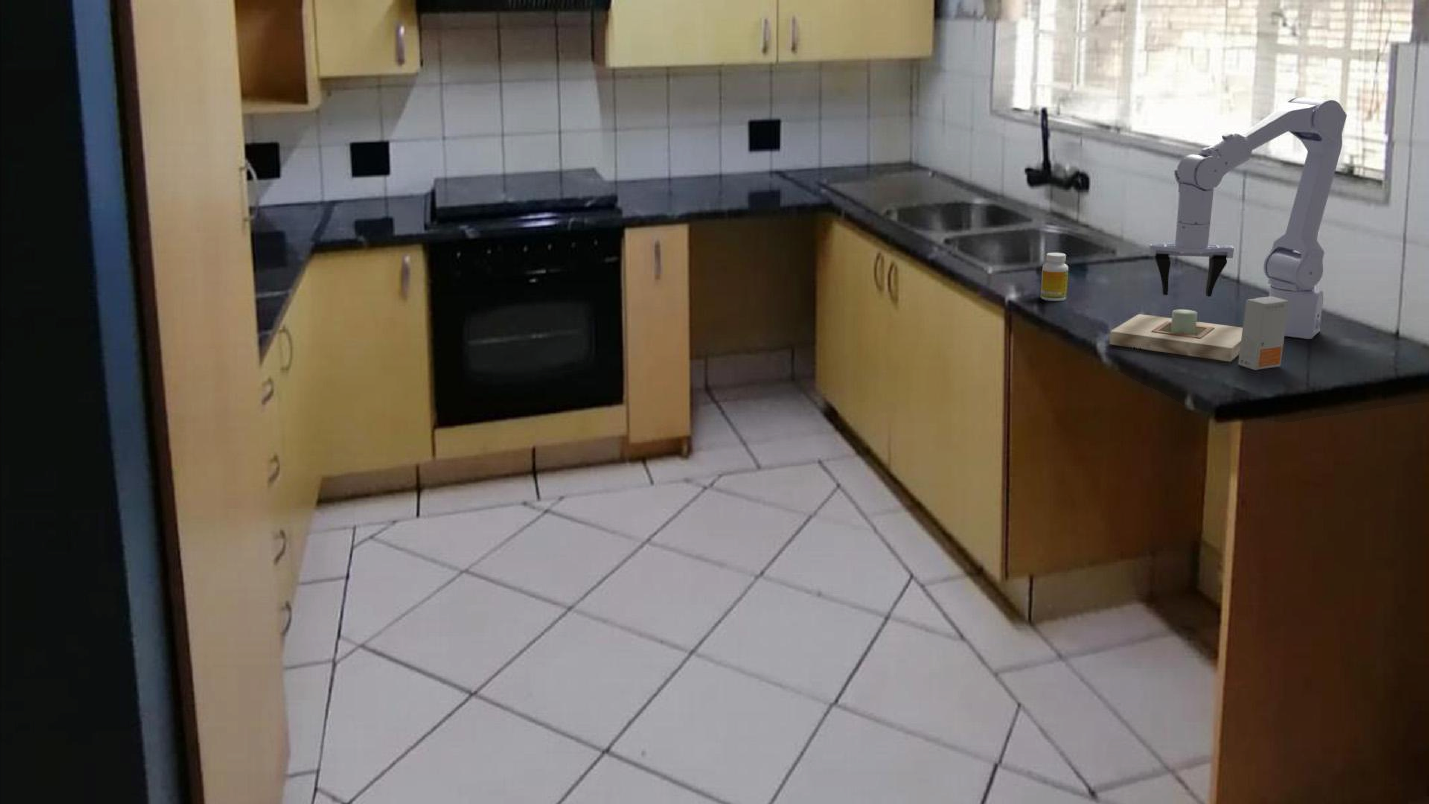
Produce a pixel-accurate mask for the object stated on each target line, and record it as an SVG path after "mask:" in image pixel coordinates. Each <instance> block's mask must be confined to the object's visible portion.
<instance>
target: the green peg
mask: <svg viewBox="0 0 1429 804" xmlns="http://www.w3.org/2000/svg"><path fill="white" fill-rule="evenodd" d="M1171 313H1172V314H1171V318H1172V321H1171V331H1170V332H1172V333H1180V334H1187V335H1194V336H1195V331H1196V322H1198V321H1197V319H1198V312H1197V311H1195V310H1191V309H1174V310H1172V312H1171Z"/></svg>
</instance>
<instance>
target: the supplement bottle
mask: <svg viewBox="0 0 1429 804" xmlns="http://www.w3.org/2000/svg"><path fill="white" fill-rule="evenodd" d="M1066 258H1067V255H1066V254H1065V253H1063V252H1048V253H1046V258H1045V259H1046V262H1045V263H1044V264H1042V269H1041V285H1040V298H1041V299H1042V300H1044V301H1048V302H1060V301H1062V302H1063V301H1066V298H1067V294H1068V293H1067V292H1068V279H1069V277H1068V276H1069V266H1068V265H1067V264H1066V263H1065V262H1066Z"/></svg>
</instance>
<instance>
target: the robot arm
mask: <svg viewBox="0 0 1429 804" xmlns="http://www.w3.org/2000/svg"><path fill="white" fill-rule="evenodd" d="M1277 107H1278V108H1277V109H1276V110H1275V111H1273V112H1272V113H1271V114H1269V115H1268V116H1267V117H1266V116H1265V118H1263V119H1262V120H1260V121H1259V122H1258V123H1256V124H1255V125H1253V126H1252V127H1250V128H1248V130H1247V131H1245V132H1243V133H1241V134H1240V133H1238V132H1232V133H1229V132H1226V133H1224V134H1223V135H1222V136H1221V138H1222V139H1220V140H1218V141H1217V142H1215V143H1213V144H1212V145H1211V146H1209V147H1204V148H1201V149H1200V152H1199V153H1198V154H1188V155H1186V156H1185V157H1184V158H1182V159H1181V161H1180V162H1179V164H1178V165H1177V168H1176V169H1175V170H1174V173H1173V174H1174V177H1175V180H1176V182H1177V184H1178V185H1177V186H1178V191H1177V192H1178V193H1179V199H1178V200H1179V201H1178V211H1177V219H1176V220H1177V223H1176V232H1175V241H1174V242H1171V243H1149V247H1148V248H1149V249H1148V255H1149V256H1150V257H1154V260H1155V262H1156V265H1157V268H1158V271H1159V276H1160V280H1161V288H1162V289H1161V290H1162V295H1163V296H1168V295H1169V275H1170V268H1171V264H1172V263H1171V257H1205V258H1208V272H1207V274H1208V275H1207V281H1206V286H1205V296H1206V297H1210V298H1211V297H1212V294H1213V290H1214V288H1215V285H1216V283H1217V281H1218V278H1219V277H1220V275H1221V274H1222V272H1223V270H1224V269H1225V267H1226V266H1227V263H1228V259H1233V258H1234V250H1235V248H1234V246H1233V245H1221V244H1213V243H1212V244H1210V243H1209V239H1210V230H1211V221H1212V209H1213V203H1214V201H1213V200H1214V199H1213V198H1214V191H1215V188H1217V187H1218V186H1219V185H1220V183H1222V180H1223V177H1224V176H1226V175H1227V174H1228V173H1230V172H1231V171H1233V170H1234V169H1236V168H1237V167H1239V166H1241V165H1243V164H1244V163H1246V162H1247V161H1249V160H1250V159H1251V157H1252V153H1253V150H1255V149H1257V148H1259V147H1261V146H1263V145H1265V144H1267V143H1268V142H1269V143H1270V142H1271V141H1272V140H1274V139H1275V138H1278V137H1280V136H1282V135H1284V134H1286V133H1288V132H1289V133H1290V134H1292V135H1293V137H1296V138H1297V139H1298V140H1300V141H1301V143H1302V145H1303V146H1304V147H1305V150H1306V151H1307V153H1306V157H1305V161H1304V165H1303V168H1302V171H1301V175H1300V179H1299V183H1298V187H1297V190H1296V193H1295V198H1294V201H1293V204H1292V207H1291V208H1292V209H1291V212H1290V214H1289V215H1290V216H1289V219H1288V222H1287V226H1286V230H1285V233H1284V234H1283V235H1281V236H1280V237H1278V238H1277V239H1275V240H1274V241H1273V244H1272V247H1271V248H1270V249H1271V250H1270V251H1269V253H1267V255H1266V257H1265V258H1264V262H1263V274H1264V275H1265V276H1266V278H1268V284H1269V285H1270V286H1269V294H1268V297H1270V296H1273V297H1276V298H1280V299H1283V300H1287V301H1289V307H1288V314H1287V321H1286V328H1285V336H1284V337H1290V338H1298V339H1305V340H1312V339H1313V338H1314V337H1315V336H1316V335H1317V334H1319V332H1320V331H1321V327H1320V326H1321V321H1322V320H1321V319H1322V312H1323V311H1322V310H1323V306H1324V305H1323V303H1324V291H1323V290H1319V289H1315V287H1316V286H1317V284H1319V282H1320V281H1321V279H1322V277H1323V274H1324V256H1325V251H1324V249H1323V247H1322V246H1321V244H1320V243H1319V241H1318V240H1317V239H1318V238H1317V237H1318V233H1319V231H1320V227H1321V223H1322V220H1323V217H1324V212H1325V210H1326V206H1327V201H1328V197H1329V195H1330V191H1331V188H1332V184H1333V179H1334V178H1335V173H1336V170H1337V166H1338V162H1339V160H1340V155H1341V151H1342V148H1343V131H1344V128H1345V124H1346V119H1347V117H1348V114H1347V113H1346V111H1345V110H1344V109H1343V107H1342V105H1341V104H1340V103H1339V102H1338V101H1337V100H1333V99H1327V100H1326V99H1319V98H1318V99H1315V98H1307V97H1302V96H1292V97H1291V98H1289V99H1288V100H1287V101H1285V102H1282V103H1280V104H1279V105H1278V106H1277ZM1296 251H1297V252H1296Z"/></svg>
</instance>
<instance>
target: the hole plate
mask: <svg viewBox="0 0 1429 804" xmlns="http://www.w3.org/2000/svg"><path fill="white" fill-rule="evenodd" d="M1171 321H1172V317H1165V316H1157V315H1149V314H1141V313H1139V314H1137V315H1135V316H1133V317H1132V318H1130V319H1128V320H1127V321H1125V322H1124V323H1122V324H1120V325H1118V326H1117V327H1115V328H1114V329H1111V330H1110V333H1109V345H1112V346H1121V347H1127V348H1134V347H1135V348H1134V349H1140V348H1141V349H1140V350H1147V351H1153V352H1161V353H1162V352H1163V353H1166V354H1167V353H1169V354H1173V355H1175V354H1176V355H1182V356H1189V357H1196V358H1202V359H1210V360H1215V361H1223V362H1232V361H1233V360H1235V359H1236V357H1239V353H1240V346H1241V338H1242V330H1243V326H1242V327H1239V326H1234V325H1232V326H1231V325H1227V324H1217V323H1211V322H1210V323H1209V322H1204V321H1196V331H1195V336H1194V335H1187V334H1180V333H1172V332H1170V331H1171Z"/></svg>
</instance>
